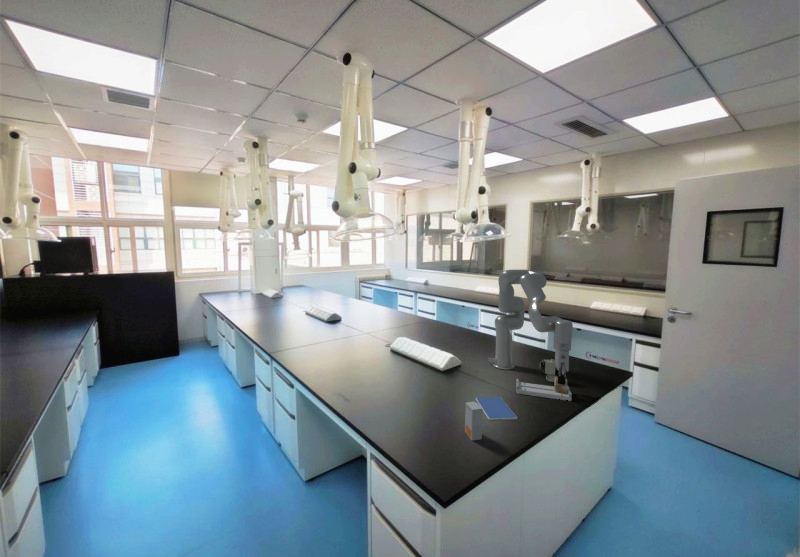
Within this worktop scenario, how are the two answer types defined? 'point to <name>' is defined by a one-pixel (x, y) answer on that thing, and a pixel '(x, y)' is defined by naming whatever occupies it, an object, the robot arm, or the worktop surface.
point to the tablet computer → (495, 408)
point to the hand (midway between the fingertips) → (559, 379)
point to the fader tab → (560, 386)
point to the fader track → (541, 391)
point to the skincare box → (473, 421)
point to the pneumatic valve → (548, 369)
